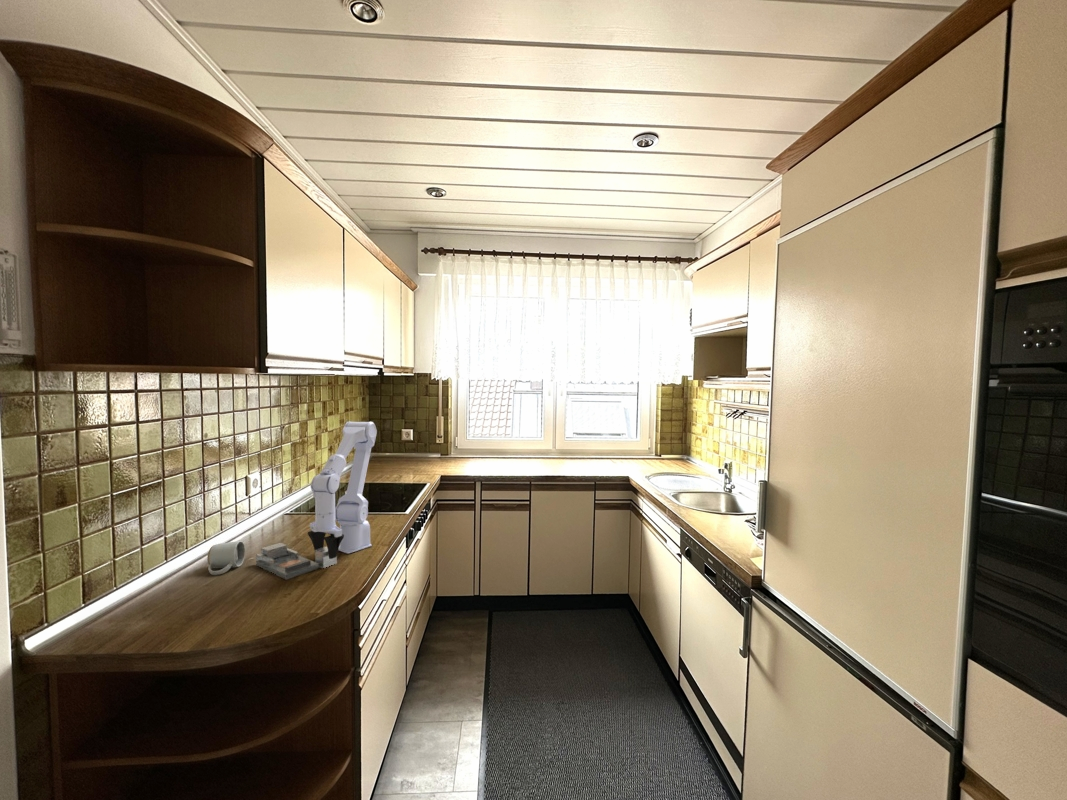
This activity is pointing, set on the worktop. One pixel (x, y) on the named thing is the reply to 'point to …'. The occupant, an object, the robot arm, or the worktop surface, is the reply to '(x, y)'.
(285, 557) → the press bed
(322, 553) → the white rectangular block
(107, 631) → the worktop surface
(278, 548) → the block
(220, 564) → the ceramic mug
